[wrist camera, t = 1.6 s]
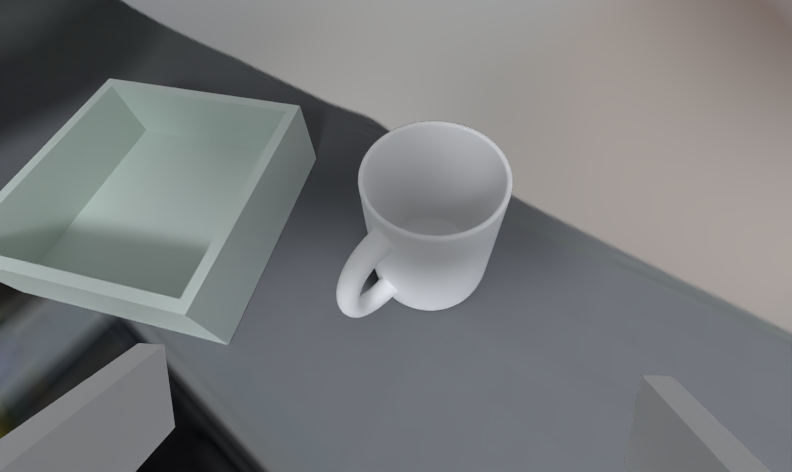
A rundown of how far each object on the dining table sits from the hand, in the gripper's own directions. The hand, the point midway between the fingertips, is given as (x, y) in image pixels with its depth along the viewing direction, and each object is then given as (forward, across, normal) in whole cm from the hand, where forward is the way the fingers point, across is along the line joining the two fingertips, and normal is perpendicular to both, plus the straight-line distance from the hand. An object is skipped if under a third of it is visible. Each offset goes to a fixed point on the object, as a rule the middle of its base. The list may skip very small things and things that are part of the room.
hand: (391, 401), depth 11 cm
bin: (+21, -20, 0) cm, 29 cm away
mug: (+18, 0, -3) cm, 18 cm away
